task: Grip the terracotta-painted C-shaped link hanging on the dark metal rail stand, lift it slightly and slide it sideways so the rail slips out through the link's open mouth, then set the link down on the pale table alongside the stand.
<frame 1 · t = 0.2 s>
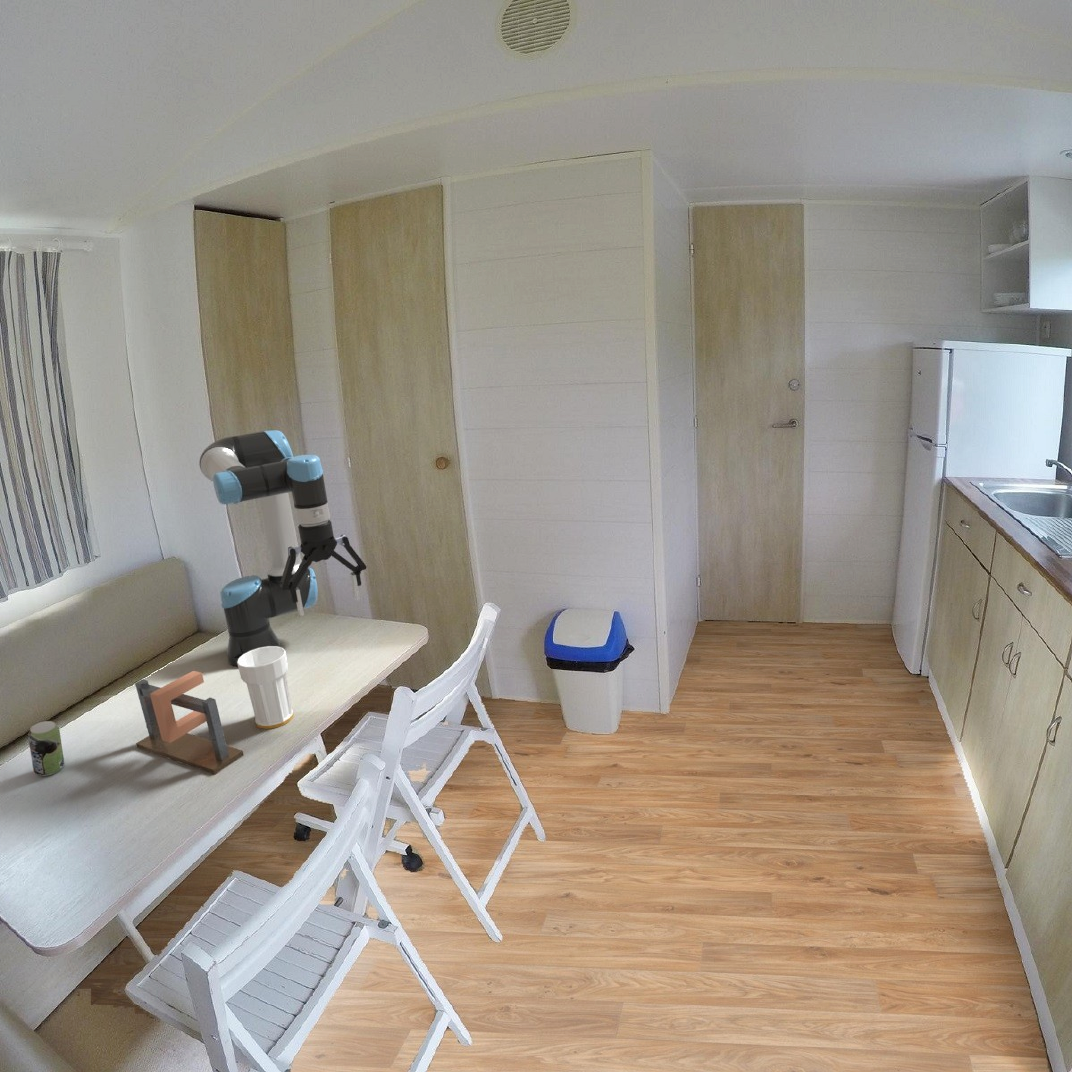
hand: (329, 606, 185), 28 cm above the table, fingers open, 13 cm apart
c link: (187, 728, 180), point 5 cm above the table, touching stand
cup: (275, 719, 192), on the table
stand: (189, 751, 181), on the table
beverage can: (53, 771, 178), on the table
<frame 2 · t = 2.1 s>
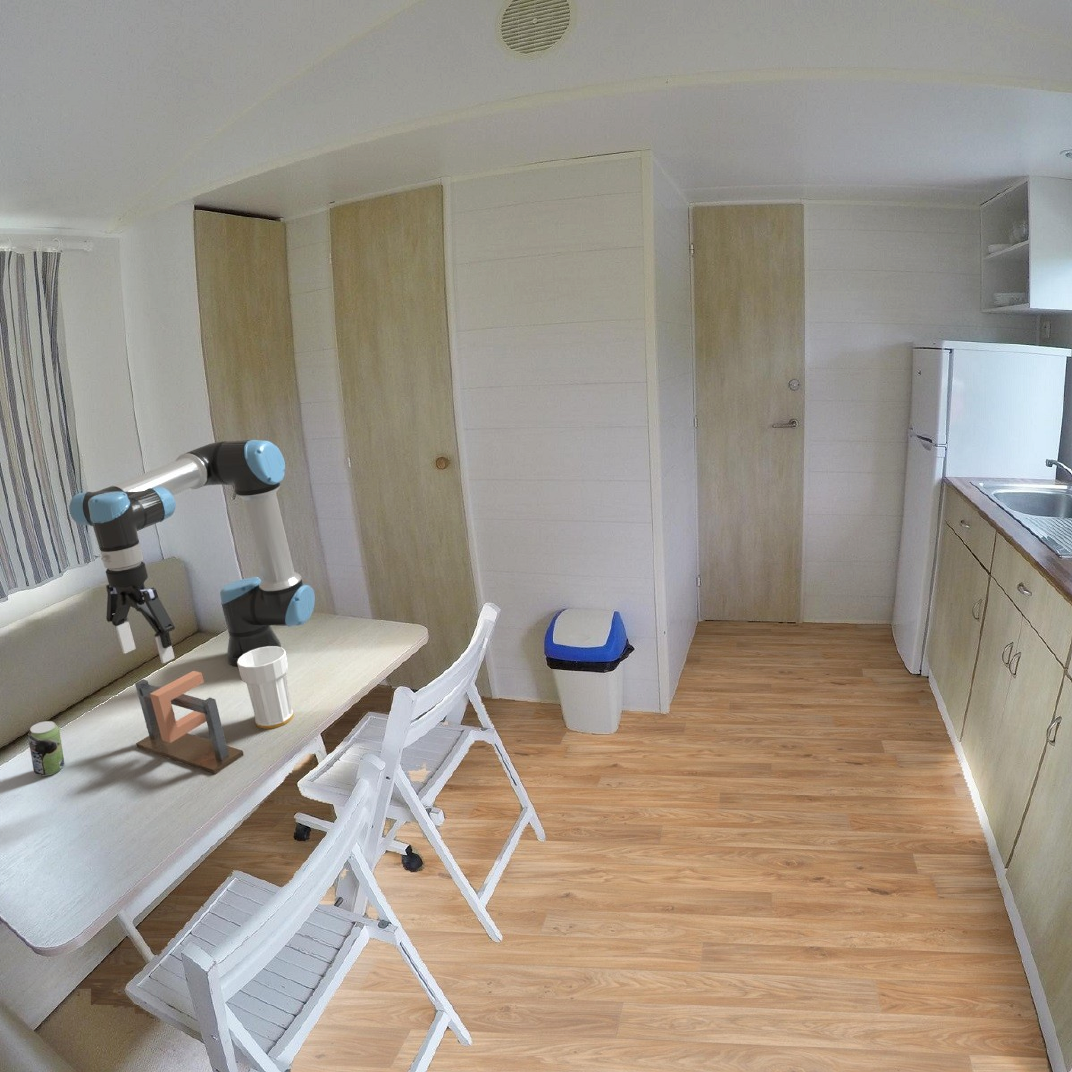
hand: (148, 655, 169), 27 cm above the table, fingers open, 13 cm apart
nothing on the table moved.
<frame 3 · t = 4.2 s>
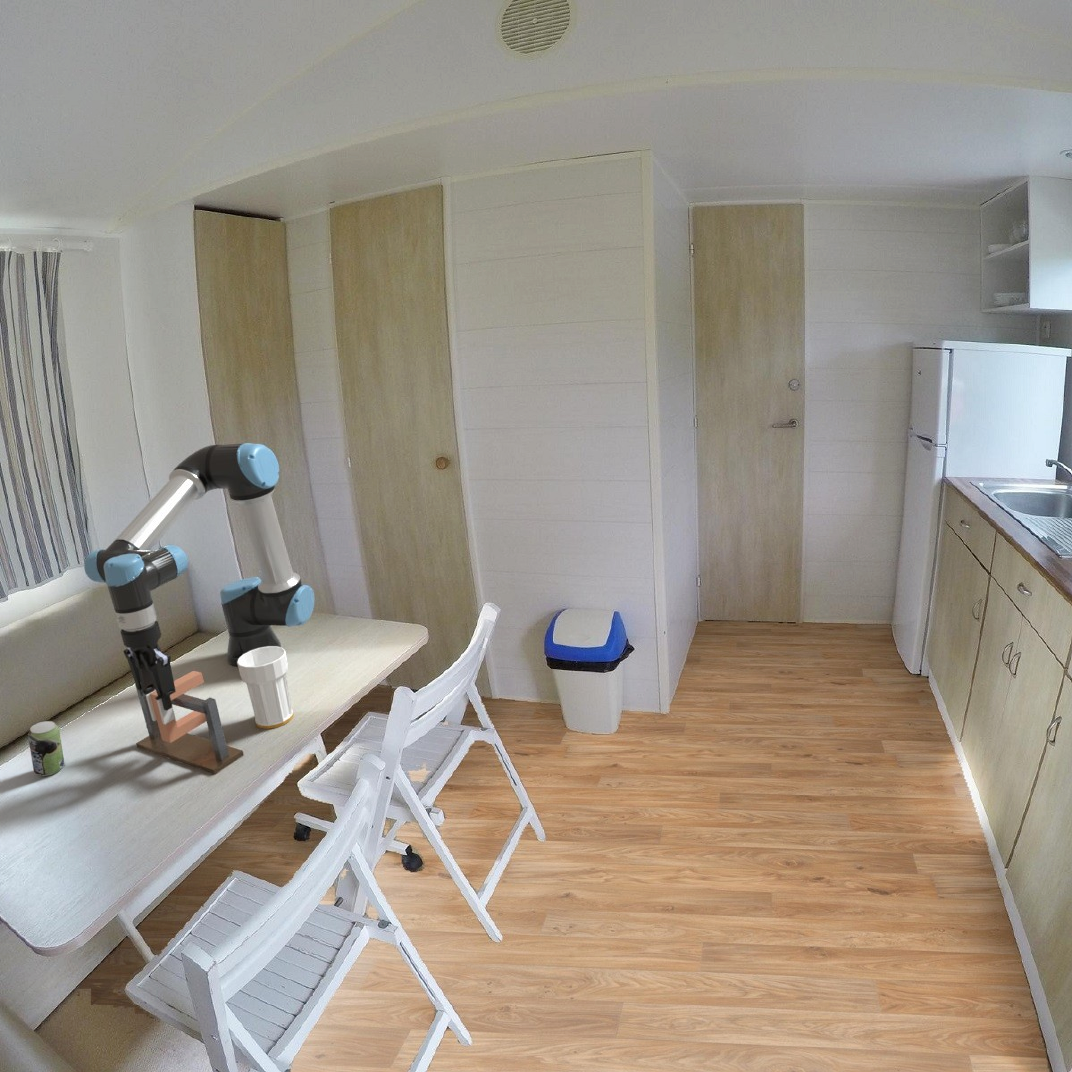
hand: (163, 719, 174), 11 cm above the table, fingers closed on c link, 3 cm apart
c link: (188, 728, 180), point 6 cm above the table, touching gripper, stand
everything else where it was.
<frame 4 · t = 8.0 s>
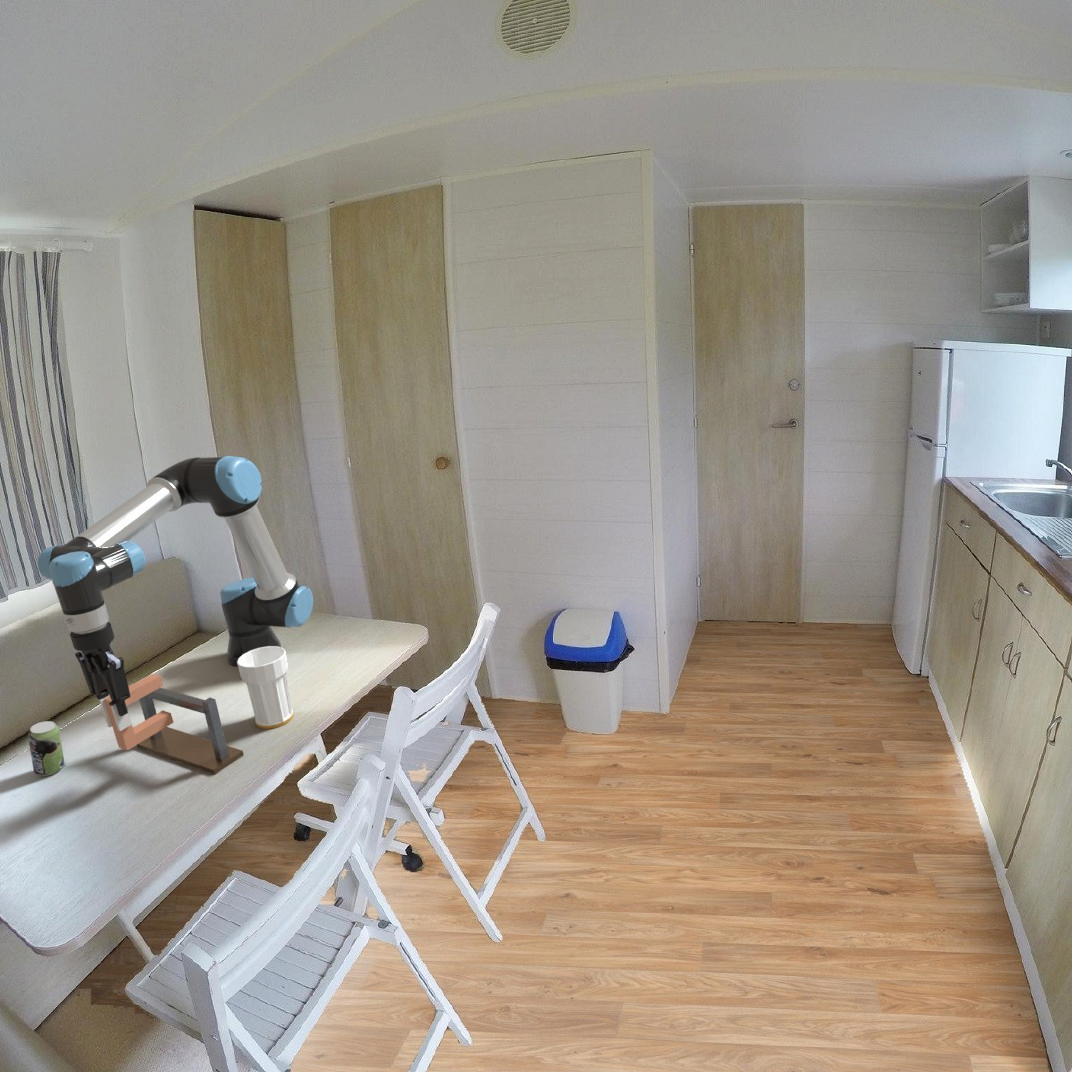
hand: (119, 725, 165), 15 cm above the table, fingers closed on c link, 3 cm apart
c link: (146, 734, 171), point 10 cm above the table, touching gripper
everything else where it was.
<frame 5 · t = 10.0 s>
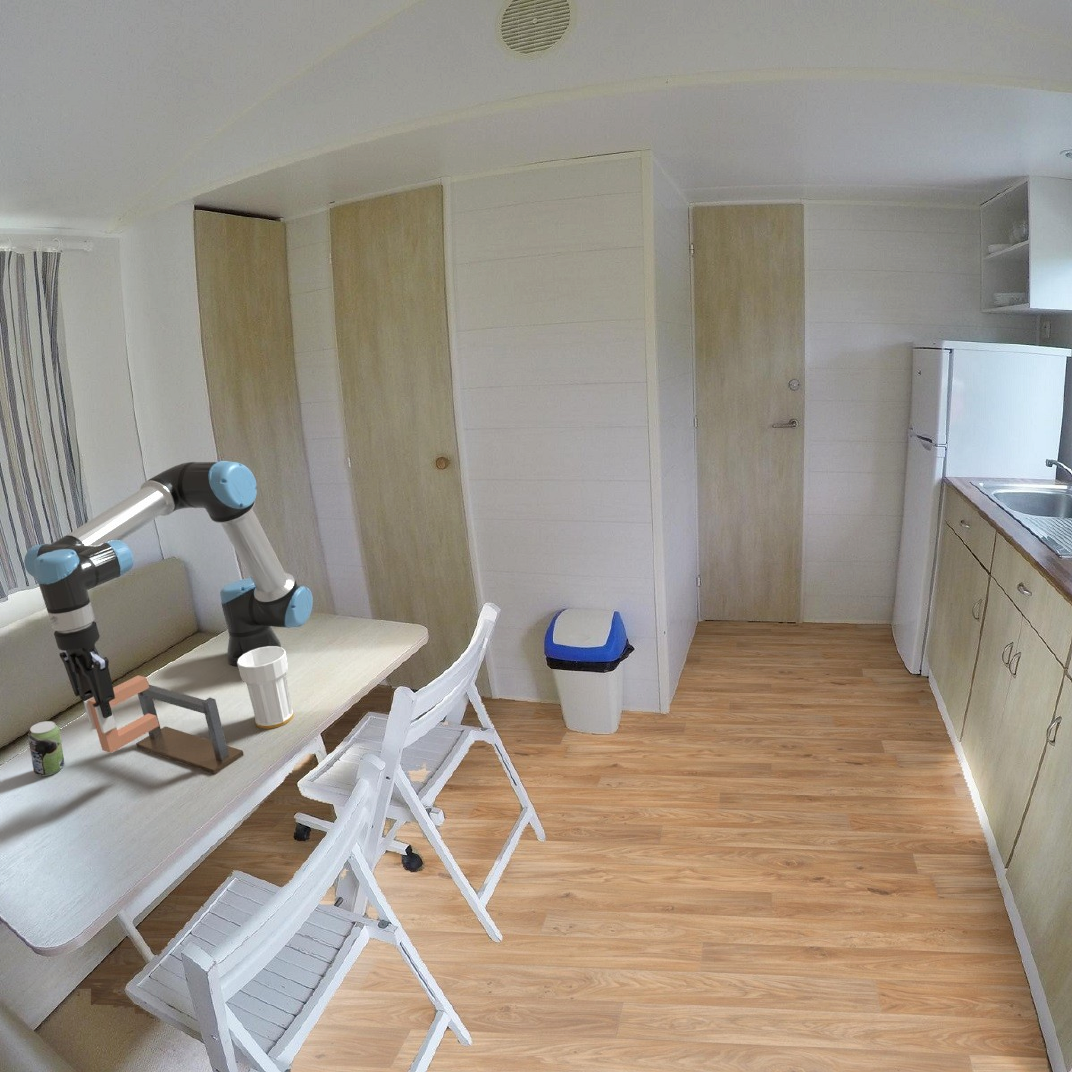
hand: (103, 727, 162), 16 cm above the table, fingers closed on c link, 3 cm apart
c link: (131, 737, 168), point 11 cm above the table, touching gripper
everything else where it was.
when the fingers open (6 cm above the table, at t = 11.6 s): c link stays where it is, on the table.
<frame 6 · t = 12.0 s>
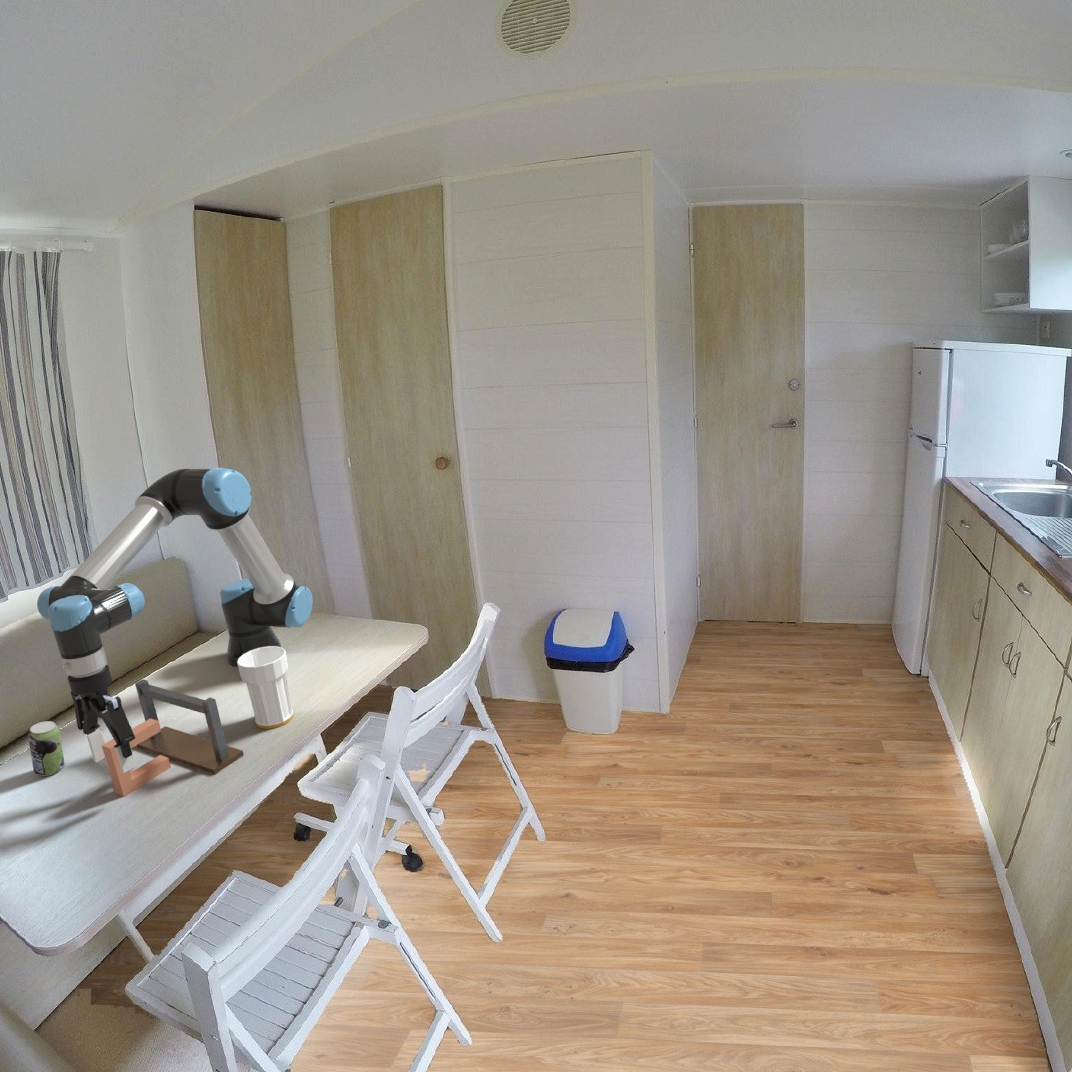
hand: (115, 763, 165), 7 cm above the table, fingers open, 9 cm apart
c link: (143, 779, 171), on the table
everything else where it was.
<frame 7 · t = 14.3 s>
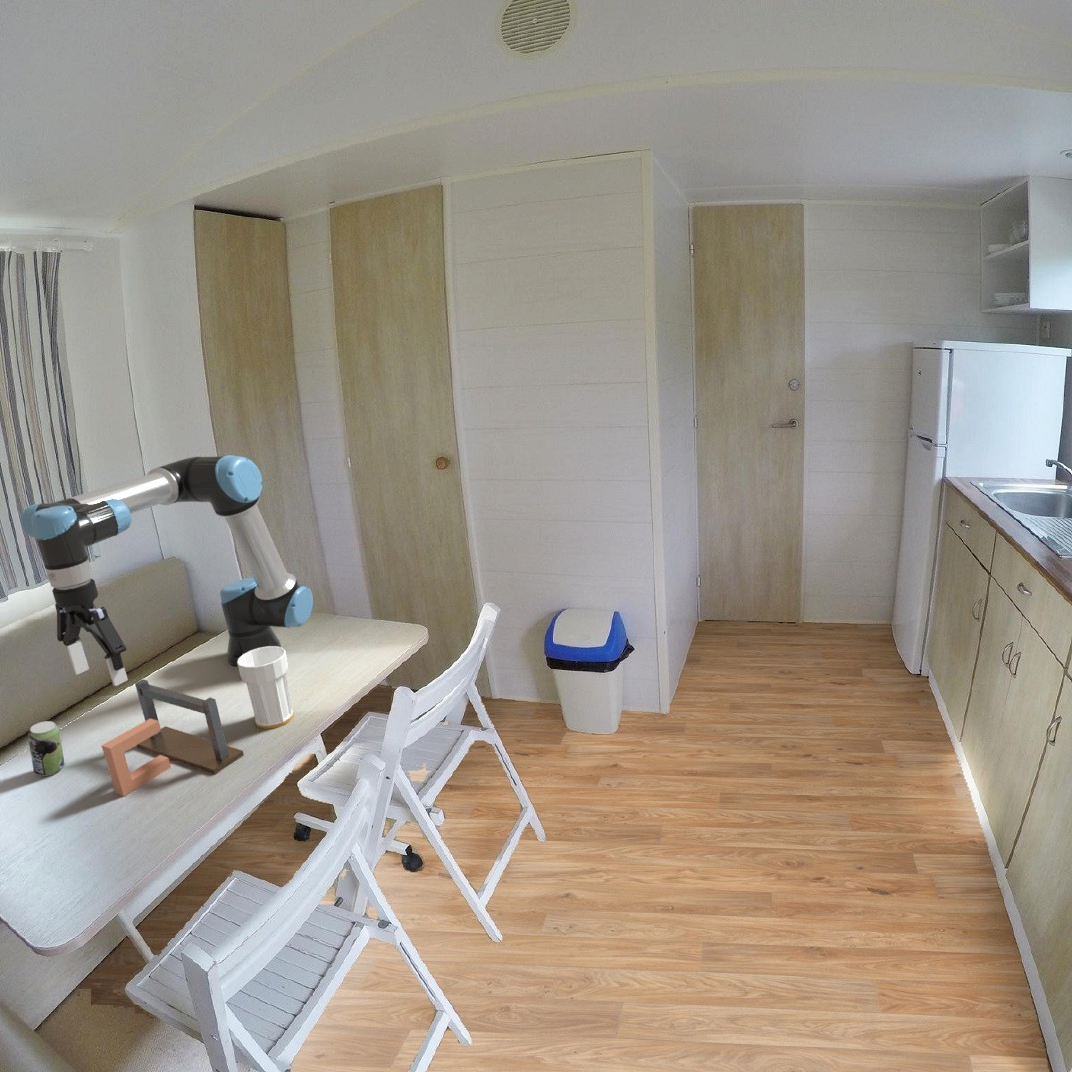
hand: (101, 677, 161), 27 cm above the table, fingers open, 13 cm apart
nothing on the table moved.
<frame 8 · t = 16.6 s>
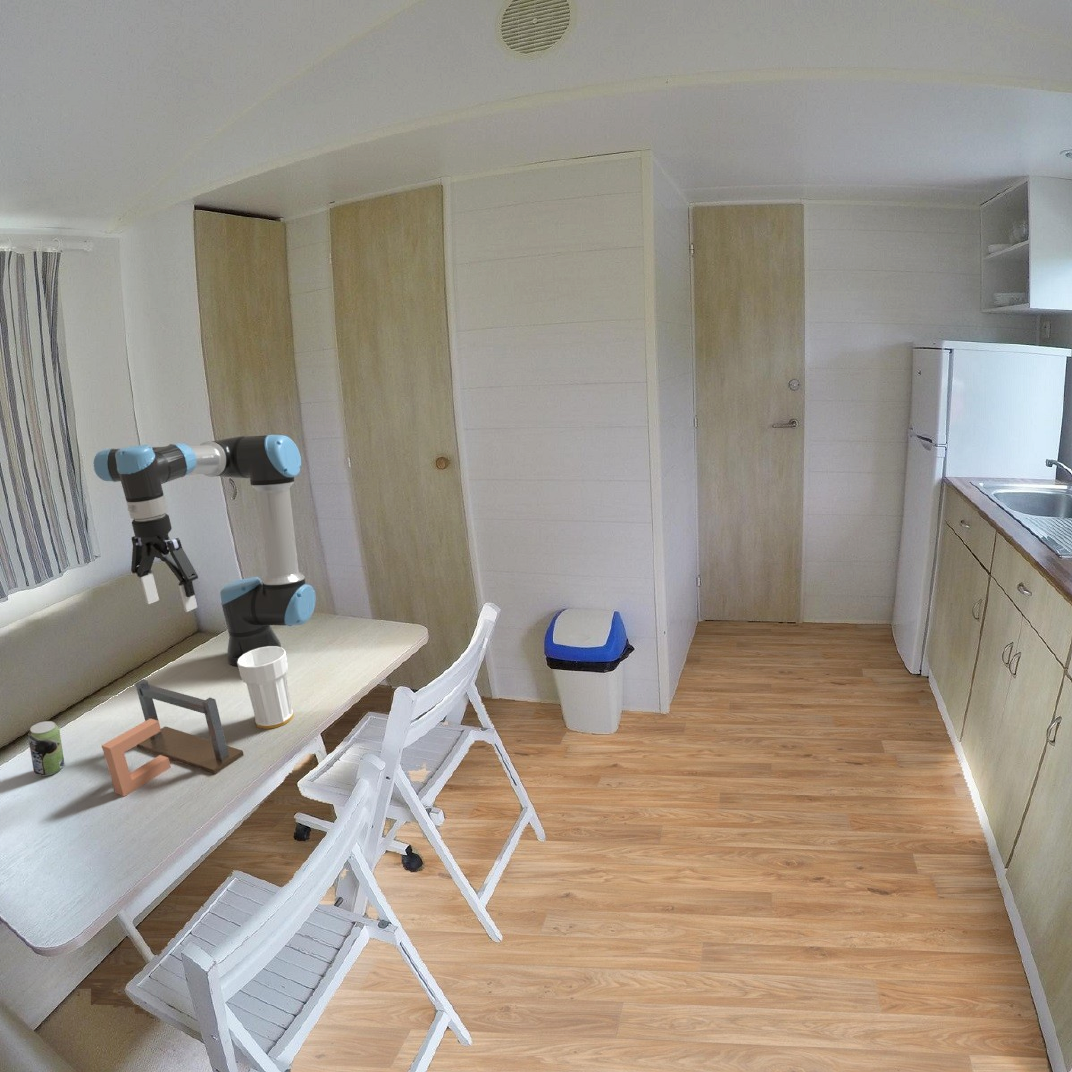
hand: (171, 605, 175), 35 cm above the table, fingers open, 13 cm apart
nothing on the table moved.
at the end: c link on the table; c link touching table; c link inside the target area (3.2 cm from its centre), on the table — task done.
